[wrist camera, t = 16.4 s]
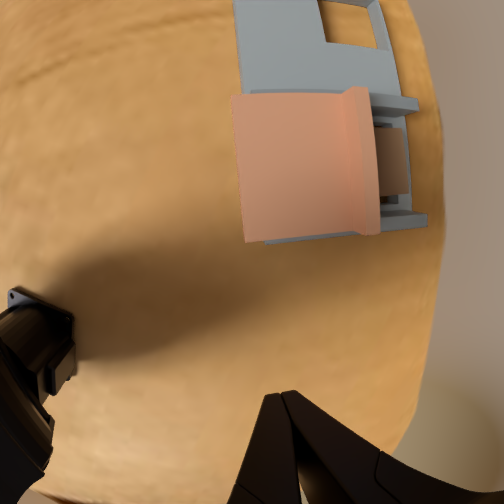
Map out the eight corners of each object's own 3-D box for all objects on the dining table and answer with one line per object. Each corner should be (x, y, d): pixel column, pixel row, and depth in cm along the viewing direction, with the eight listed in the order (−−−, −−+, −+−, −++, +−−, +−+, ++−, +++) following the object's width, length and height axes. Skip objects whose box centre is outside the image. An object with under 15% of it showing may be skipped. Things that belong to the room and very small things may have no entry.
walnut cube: (327, 196, 20) (352, 199, 16) (319, 137, 19) (343, 127, 15) (377, 191, 20) (409, 193, 16) (371, 135, 19) (401, 128, 15)
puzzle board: (255, 232, 20) (265, 244, 16) (231, -8, 16) (235, -42, 11) (401, 217, 21) (436, 225, 17) (368, 3, 17) (393, -21, 12)
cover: (244, 240, 15) (248, 249, 13) (230, 98, 14) (232, 85, 12) (361, 227, 16) (380, 234, 14) (350, 97, 14) (367, 87, 12)
